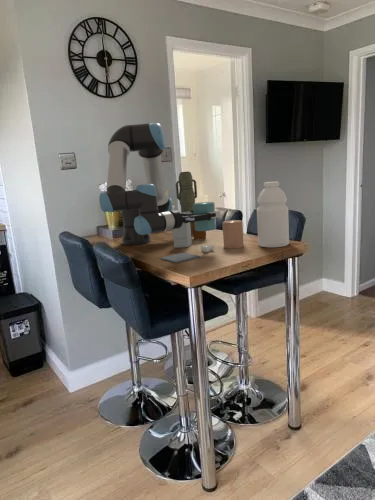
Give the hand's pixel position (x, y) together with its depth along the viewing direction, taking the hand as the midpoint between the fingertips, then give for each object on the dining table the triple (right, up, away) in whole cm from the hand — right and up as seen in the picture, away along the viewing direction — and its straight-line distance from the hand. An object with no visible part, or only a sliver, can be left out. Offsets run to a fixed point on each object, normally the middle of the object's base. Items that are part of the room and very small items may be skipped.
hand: (212, 212), depth 172 cm
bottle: (+28, -14, +4) cm, 31 cm away
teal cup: (-3, -7, -1) cm, 8 cm away
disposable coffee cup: (-5, -10, +34) cm, 36 cm away
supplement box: (-13, -15, +17) cm, 26 cm away
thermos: (-10, -7, +52) cm, 53 cm away
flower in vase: (-21, -2, +80) cm, 83 cm away
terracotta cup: (+10, -15, +7) cm, 19 cm away
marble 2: (-4, -17, +2) cm, 17 cm away
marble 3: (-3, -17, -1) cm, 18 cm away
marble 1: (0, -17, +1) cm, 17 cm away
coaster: (-14, -20, -8) cm, 26 cm away
